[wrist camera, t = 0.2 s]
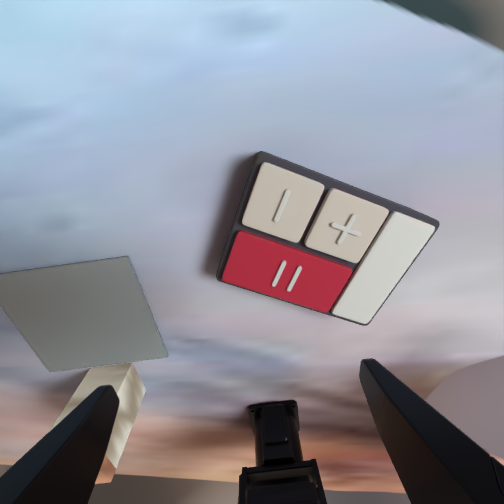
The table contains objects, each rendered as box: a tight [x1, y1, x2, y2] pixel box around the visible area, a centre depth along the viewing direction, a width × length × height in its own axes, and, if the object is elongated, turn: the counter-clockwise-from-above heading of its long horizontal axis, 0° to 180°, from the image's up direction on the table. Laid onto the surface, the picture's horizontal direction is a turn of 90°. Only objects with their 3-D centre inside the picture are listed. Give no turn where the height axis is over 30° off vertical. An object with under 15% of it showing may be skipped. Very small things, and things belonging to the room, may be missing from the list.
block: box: [48, 363, 146, 484], centre depth 25 cm, size 5×5×9 cm
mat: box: [0, 256, 168, 372], centre depth 25 cm, size 13×14×1 cm
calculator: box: [216, 151, 439, 326], centre depth 21 cm, size 11×4×15 cm
